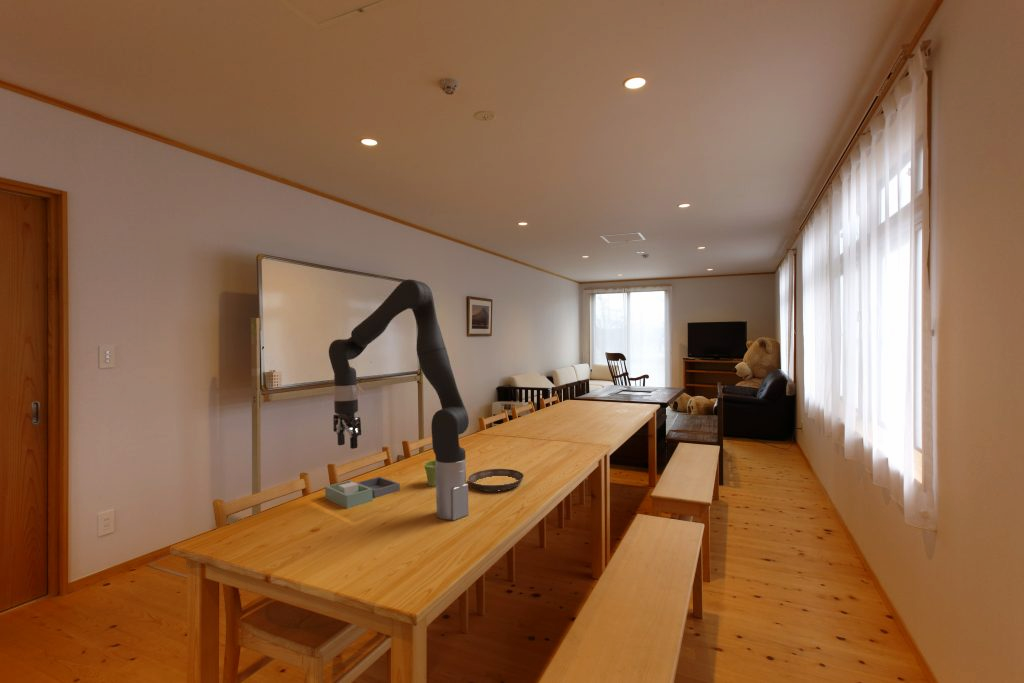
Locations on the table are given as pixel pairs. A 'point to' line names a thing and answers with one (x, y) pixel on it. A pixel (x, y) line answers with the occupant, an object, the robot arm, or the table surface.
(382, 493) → the charcoal tub
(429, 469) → the plant pot
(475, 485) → the plant saucer
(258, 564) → the table surface
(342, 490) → the pale pink block
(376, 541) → the table surface
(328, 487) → the sage green bin
